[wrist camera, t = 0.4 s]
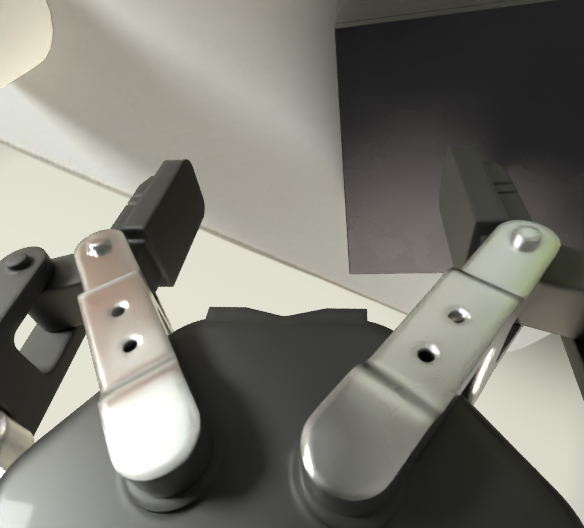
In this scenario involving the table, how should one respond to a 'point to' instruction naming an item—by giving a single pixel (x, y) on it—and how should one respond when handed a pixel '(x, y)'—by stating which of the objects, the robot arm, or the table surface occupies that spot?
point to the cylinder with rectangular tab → (23, 37)
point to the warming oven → (455, 117)
